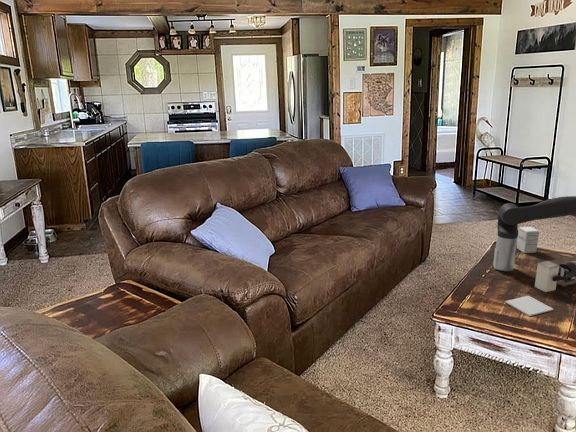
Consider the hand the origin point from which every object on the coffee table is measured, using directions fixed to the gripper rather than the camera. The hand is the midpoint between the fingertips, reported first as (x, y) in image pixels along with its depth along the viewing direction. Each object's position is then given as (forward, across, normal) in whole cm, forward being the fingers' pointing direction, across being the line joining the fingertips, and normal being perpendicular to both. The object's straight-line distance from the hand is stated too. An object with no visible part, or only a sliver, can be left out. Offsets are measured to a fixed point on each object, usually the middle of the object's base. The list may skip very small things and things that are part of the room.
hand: (545, 275), depth 211 cm
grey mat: (+19, +10, +7) cm, 22 cm away
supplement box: (-30, -38, +7) cm, 49 cm away
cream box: (-1, 0, +7) cm, 7 cm away
